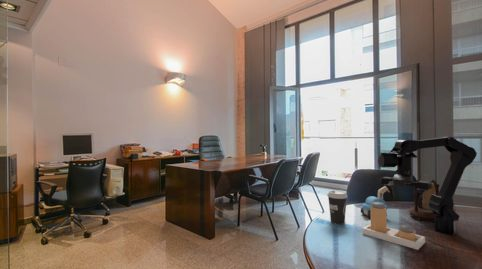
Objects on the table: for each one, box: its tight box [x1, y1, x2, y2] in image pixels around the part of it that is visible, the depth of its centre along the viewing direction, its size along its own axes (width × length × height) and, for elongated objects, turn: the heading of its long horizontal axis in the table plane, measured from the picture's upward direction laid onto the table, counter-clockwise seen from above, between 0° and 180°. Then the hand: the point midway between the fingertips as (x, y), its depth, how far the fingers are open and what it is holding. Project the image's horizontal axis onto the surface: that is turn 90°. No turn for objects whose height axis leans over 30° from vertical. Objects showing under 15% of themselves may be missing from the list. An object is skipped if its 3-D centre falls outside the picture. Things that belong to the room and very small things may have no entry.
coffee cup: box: [326, 190, 348, 225], centre depth 124 cm, size 10×10×15 cm
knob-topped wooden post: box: [370, 202, 388, 233], centre depth 105 cm, size 5×5×13 cm
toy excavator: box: [360, 185, 390, 219], centre depth 131 cm, size 9×17×17 cm, turn 94°
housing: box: [362, 223, 426, 251], centre depth 101 cm, size 20×9×4 cm, turn 40°
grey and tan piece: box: [397, 224, 417, 242], centre depth 97 cm, size 5×5×6 cm
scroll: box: [409, 179, 441, 222], centre depth 127 cm, size 15×15×20 cm
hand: (404, 201), depth 112 cm, fingers open, 9 cm apart
